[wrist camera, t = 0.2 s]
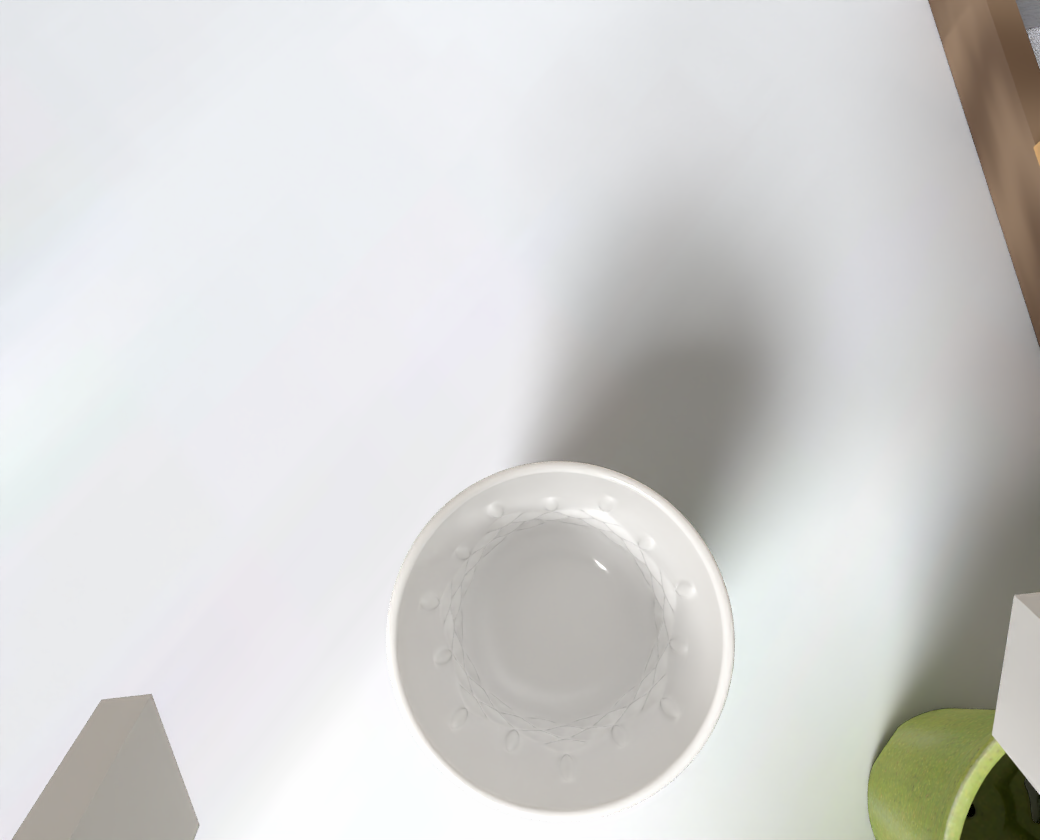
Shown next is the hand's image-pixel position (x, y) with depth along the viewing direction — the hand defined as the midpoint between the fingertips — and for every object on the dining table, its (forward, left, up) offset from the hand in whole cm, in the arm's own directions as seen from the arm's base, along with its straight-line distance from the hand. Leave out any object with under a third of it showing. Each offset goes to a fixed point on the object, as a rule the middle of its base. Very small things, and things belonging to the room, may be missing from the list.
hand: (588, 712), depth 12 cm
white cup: (+1, 0, -16) cm, 16 cm away
